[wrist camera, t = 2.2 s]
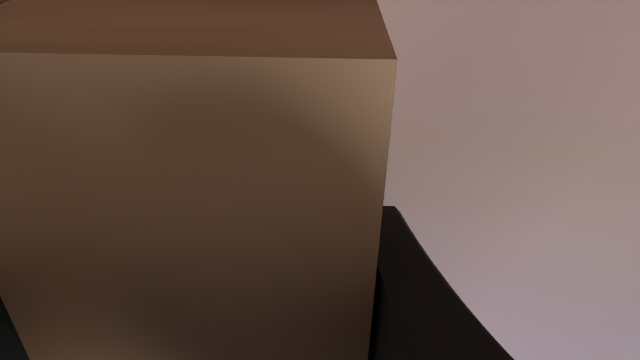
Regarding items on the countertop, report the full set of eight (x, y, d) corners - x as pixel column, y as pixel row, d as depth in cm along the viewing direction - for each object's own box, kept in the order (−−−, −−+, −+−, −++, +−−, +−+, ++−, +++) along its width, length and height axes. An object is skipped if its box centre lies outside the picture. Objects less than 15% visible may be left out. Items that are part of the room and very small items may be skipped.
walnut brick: (346, 343, 13) (352, 510, 10) (157, 339, 13) (97, 505, 10) (369, -19, 8) (397, 59, 5) (69, -25, 8) (-113, 50, 5)
